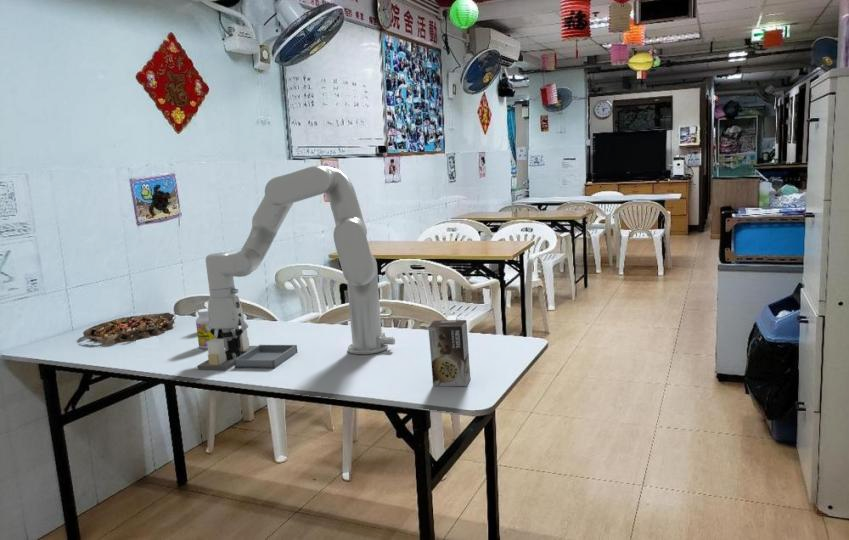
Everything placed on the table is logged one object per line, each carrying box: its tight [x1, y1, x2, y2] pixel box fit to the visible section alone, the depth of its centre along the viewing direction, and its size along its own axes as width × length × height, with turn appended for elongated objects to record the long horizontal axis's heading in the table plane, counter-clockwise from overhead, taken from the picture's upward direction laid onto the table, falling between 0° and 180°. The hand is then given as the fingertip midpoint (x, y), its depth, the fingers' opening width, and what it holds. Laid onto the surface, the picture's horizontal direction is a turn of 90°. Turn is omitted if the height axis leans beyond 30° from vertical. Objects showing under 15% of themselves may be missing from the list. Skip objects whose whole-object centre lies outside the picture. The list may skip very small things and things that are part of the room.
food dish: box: [82, 312, 177, 346], centre depth 252 cm, size 35×33×8 cm
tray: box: [234, 344, 298, 370], centre depth 202 cm, size 13×16×2 cm
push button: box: [219, 329, 240, 360], centre depth 205 cm, size 7×5×10 cm
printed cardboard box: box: [427, 319, 471, 387], centre depth 169 cm, size 9×6×16 cm
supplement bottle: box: [195, 308, 216, 350], centre depth 222 cm, size 7×7×13 cm
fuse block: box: [196, 326, 258, 371], centre depth 205 cm, size 10×21×8 cm, turn 166°
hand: (229, 348), depth 205 cm, fingers closed on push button, 4 cm apart
